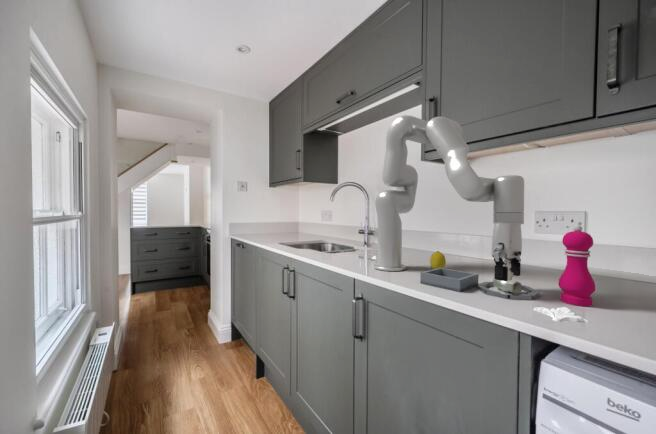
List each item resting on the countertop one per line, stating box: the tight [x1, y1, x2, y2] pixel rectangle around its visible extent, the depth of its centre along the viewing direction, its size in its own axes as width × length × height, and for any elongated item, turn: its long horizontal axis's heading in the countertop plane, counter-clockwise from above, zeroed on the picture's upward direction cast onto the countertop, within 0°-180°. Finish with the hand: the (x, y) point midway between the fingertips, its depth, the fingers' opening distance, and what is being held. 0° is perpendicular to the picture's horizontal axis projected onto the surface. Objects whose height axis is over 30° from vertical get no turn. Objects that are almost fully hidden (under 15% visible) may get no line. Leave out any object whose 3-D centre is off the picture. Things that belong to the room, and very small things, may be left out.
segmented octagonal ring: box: [476, 281, 541, 301], centre depth 85 cm, size 15×15×1 cm
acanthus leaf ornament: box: [533, 306, 591, 324], centre depth 65 cm, size 8×7×2 cm
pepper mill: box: [558, 224, 596, 307], centre depth 75 cm, size 7×7×20 cm
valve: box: [492, 251, 523, 294], centre depth 84 cm, size 7×7×12 cm
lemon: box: [429, 250, 447, 270], centre depth 111 cm, size 6×6×8 cm
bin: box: [419, 267, 479, 293], centre depth 93 cm, size 13×12×4 cm
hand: (507, 277), depth 84 cm, fingers open, 9 cm apart
